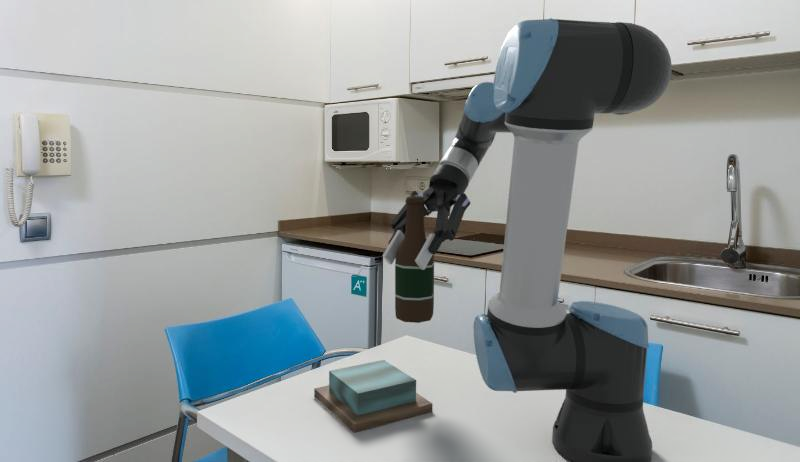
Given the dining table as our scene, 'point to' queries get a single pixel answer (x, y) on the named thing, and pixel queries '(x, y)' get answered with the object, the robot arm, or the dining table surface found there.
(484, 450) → the dining table surface
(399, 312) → the beer bottle
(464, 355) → the dining table surface
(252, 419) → the dining table surface
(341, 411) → the display base
